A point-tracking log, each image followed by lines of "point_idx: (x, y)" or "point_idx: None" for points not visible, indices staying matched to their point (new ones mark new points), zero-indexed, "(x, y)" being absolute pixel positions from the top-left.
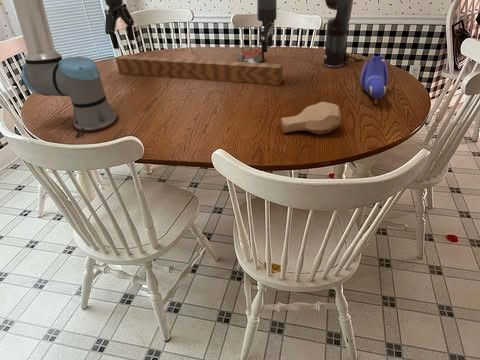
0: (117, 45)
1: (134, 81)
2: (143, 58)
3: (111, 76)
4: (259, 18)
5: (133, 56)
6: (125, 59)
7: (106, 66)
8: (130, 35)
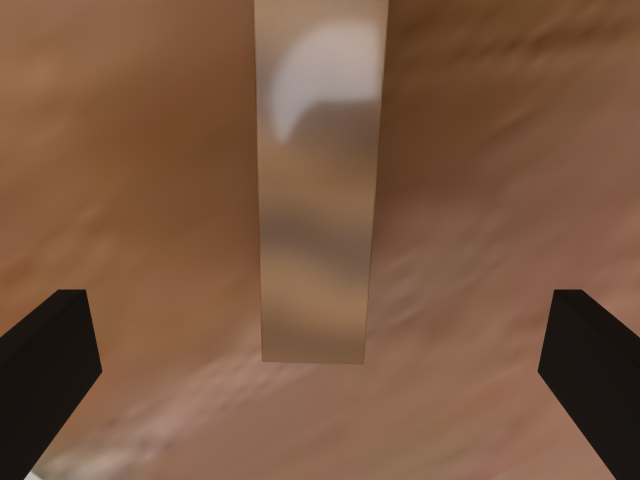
0: (613, 326)
1: (531, 47)
2: (333, 10)
3: (423, 314)
4: None
5: (276, 200)
6: (371, 248)
7: (230, 455)
8: (49, 385)
